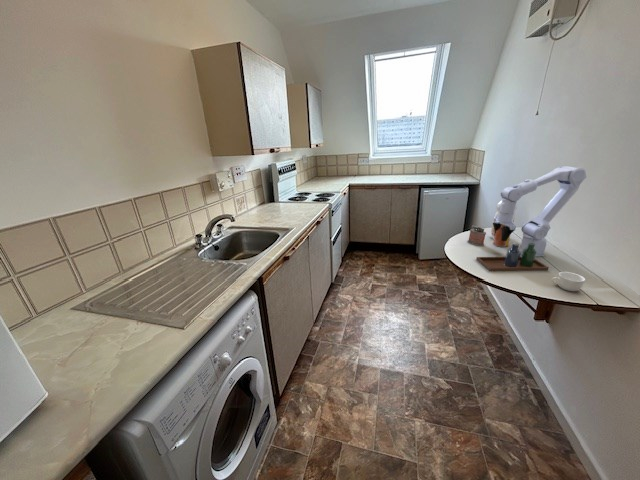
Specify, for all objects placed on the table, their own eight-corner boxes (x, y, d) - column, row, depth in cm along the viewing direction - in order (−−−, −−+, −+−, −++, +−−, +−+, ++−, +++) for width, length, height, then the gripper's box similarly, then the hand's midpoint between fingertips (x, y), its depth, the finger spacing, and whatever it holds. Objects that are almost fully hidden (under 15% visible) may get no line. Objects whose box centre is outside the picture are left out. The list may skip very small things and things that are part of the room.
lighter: (484, 244, 147) (488, 227, 144) (482, 246, 145) (485, 229, 142) (469, 240, 153) (472, 224, 149) (466, 242, 151) (469, 225, 147)
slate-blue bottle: (512, 262, 126) (517, 242, 122) (519, 267, 122) (525, 246, 118) (501, 262, 126) (506, 242, 122) (508, 267, 122) (513, 246, 118)
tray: (529, 259, 129) (530, 256, 128) (547, 271, 118) (549, 267, 117) (475, 260, 130) (476, 257, 129) (488, 272, 120) (489, 268, 119)
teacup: (573, 284, 108) (578, 272, 106) (585, 294, 101) (590, 282, 99) (544, 281, 111) (548, 270, 109) (554, 291, 104) (558, 279, 102)
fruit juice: (486, 236, 158) (496, 190, 147) (497, 234, 160) (508, 188, 150) (500, 242, 149) (512, 193, 139) (512, 239, 152) (525, 191, 142)
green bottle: (527, 262, 126) (533, 241, 122) (535, 267, 121) (541, 246, 117) (516, 262, 126) (522, 241, 122) (523, 267, 121) (529, 246, 118)
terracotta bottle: (501, 241, 136) (506, 222, 132) (507, 245, 132) (512, 225, 128) (491, 242, 136) (495, 222, 132) (497, 246, 132) (501, 226, 128)
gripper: (489, 208, 135) (484, 233, 140) (507, 217, 121) (500, 244, 126) (504, 208, 134) (498, 233, 139) (523, 216, 121) (516, 244, 126)
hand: (500, 238), depth 133 cm, fingers closed on terracotta bottle, 5 cm apart
